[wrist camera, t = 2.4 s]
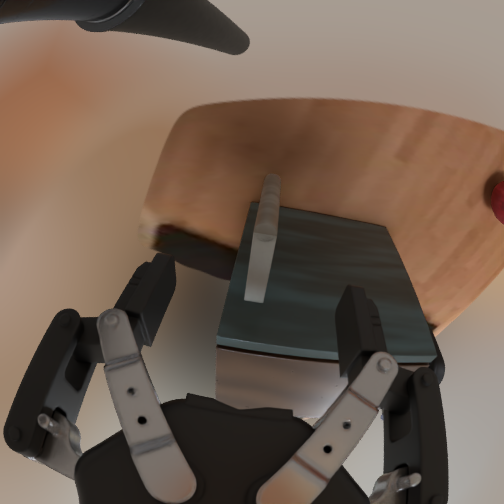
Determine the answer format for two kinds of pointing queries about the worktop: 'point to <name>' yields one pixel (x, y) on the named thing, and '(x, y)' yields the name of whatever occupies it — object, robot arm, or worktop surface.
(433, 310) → the worktop surface
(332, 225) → the door
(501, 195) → the onion
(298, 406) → the cupboard
